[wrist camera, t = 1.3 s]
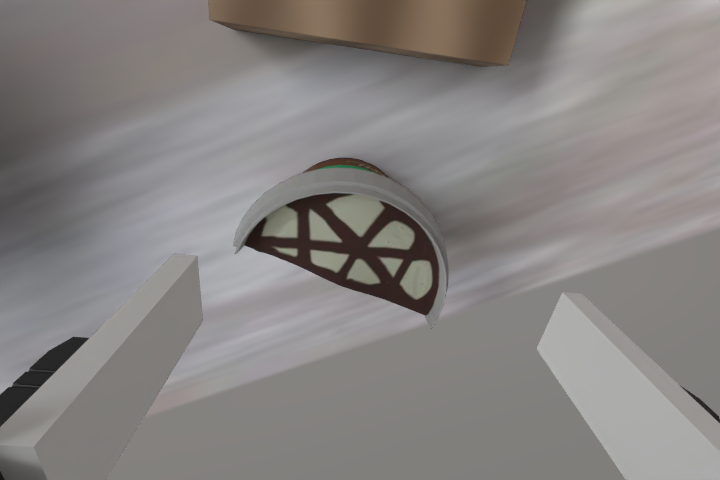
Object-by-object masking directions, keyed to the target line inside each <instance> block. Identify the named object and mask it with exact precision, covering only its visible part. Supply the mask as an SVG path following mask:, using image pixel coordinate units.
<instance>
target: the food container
mask: <svg viewBox="0 0 720 480" xmlns="http://www.w3.org/2000/svg"><path fill="white" fill-rule="evenodd" d="M244 245H245V246H248V247H250V248H253V249H255V250H257V251H259V252H263V253H267V254H270V255H273V256H275V257H278V258H280V259H283V260H285V261H288V262H290V263H293V264H295V265H297V266H299V267H302V268H304V269H306V270H308V271H310V272H312V273H314V274H316V275H318V276H320V277H322V278H325V279H327V280H329V281H331V282H333V283H336V284H338V285H340V286H342V287H346V288H349V289H352V290H355V291H358V292H362V293H366V294H369V295H372V296H376V297H379V298H382V299H385V300H387V301H390V302H393V303H395V304H398V305H400V306H403V307H405V308H408V309H411V310H413V311H416V312H418V313H421V314H423V315H425V317H426V319H427V322H428V324H429V326H430V328H431V329H432V328H433V326H434V324H435V323H436V321H437V319H438V317H439V315H440V312H441V310H442V307H443V305H444V300H445V296H446V292H447V287H448V262H447V254H446V248H445V242H444V239H443V236H442V233H441V230H440V228H439V225H438V224H437V222H436V220H435V218H434V217H433V215H432V213H431V212H430V211H429V209H428V208H427V207H426V206H425V205H424V204H423V202H422V201H421V200H420V199H419V198H418V197H416V196H415V195H414V194H413V193H412V192H410V191H409V190H408V189H407V188H405V187H404V186H402V185H400V184H398V183H397V182H395V181H393V180H391V179H390V178H388V177H387V176H386V175H385V174H384V173H383V172H382V171H381V170H380V169H378V168H377V167H375V166H373V165H372V164H370V163H367V162H364V161H362V160H358V159H353V158H336V159H330V160H326V161H323V162H320V163H318V164H316V165H314V166H312V167H310V168H309V169H307V170H306V171H304V172H303V173H302V174H298V175H296V176H293V177H291V178H289V179H287V180H285V181H282V182H280V183H279V184H277V185H276V186H274V187H273V188H271V189H270V190H268V191H267V192H265V193H264V194H263V195H262V196H261V197H260V198H259V199H258V200H257V201H256V202H255V203H254V204H253V205H252V206H251V207H250V209H249V210H248V212H247V213H246V214H245V216H244V217H243V218H242V220H241V222H240V225H239V227H238V229H237V231H236V234H235V239H234V244H233V246H235V247H237V249H236V251H235V253H234V254H237V253H238V252H239V251H240V249H241V248H242V247H243V246H244Z"/></svg>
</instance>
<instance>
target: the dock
mask: <svg viewBox="0 0 720 480" xmlns="http://www.w3.org/2000/svg"><path fill="white" fill-rule="evenodd" d="M526 1H527V0H208V4H209V20H211V21H214V22H216V23H219V24H221V25H224V26H226V27H228V28H231V29H234V30H241V31H247V32H254V33H261V34H267V35H274V36H281V37H287V38H294V39H301V40H307V41H314V42H320V43H327V44H334V45H340V46H347V47H354V48H360V49H367V50H374V51H380V52H387V53H394V54H400V55H407V56H413V57H420V58H427V59H433V60H440V61H447V62H453V63H460V64H467V65H473V66H480V67H488V66H503V65H509V61H510V57H511V54H512V50H513V47H514V43H515V40H516V36H517V33H518V29H519V25H520V22H521V18H522V15H523V11H524V8H525V4H526Z"/></svg>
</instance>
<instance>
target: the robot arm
mask: <svg viewBox="0 0 720 480" xmlns="http://www.w3.org/2000/svg"><path fill="white" fill-rule="evenodd" d="M202 321H203V316H202V304H201V292H200V281H199V269H198V257H197V256H192V255H182V254H173V255H172V256H171V257H170V258H169V259H168V260H167V261H166V262H165V263H164V264H163V265H162V266H161V267H160V268H159V269H158V270H157V271H156V272H155V273H154V274H153V275H152V276H151V277H150V278H149V279H148V280H147V281H146V282H145V283H144V284H143V285H142V286H141V287H140V288H139V289H138V290H137V291H136V292H135V293H134V294H133V295H132V296H131V297H130V298H129V299H128V300H127V301H126V302H125V303H124V304H123V305H122V306H121V307H120V308H119V309H118V310H117V311H116V312H115V313H114V314H113V315H112V316H111V317H110V318H109V319H108V320H107V321H106V322H105V323H104V324H103V325H102V326H101V327H100V328H99V329H98V330H97V331H96V332H95V333H94V334H93V335H92V336H91V337H90V338H81V337H73V338H71V339H69V340H67V341H65V342H64V343H62V344H60V345H58V346H57V347H55V348H53V349H51V350H50V351H48V352H47V353H46V354H45V355H44V356H43V357H42V358H40V359H39V360H38V361H37V362H36V363H35V364H34V365H33V366H32V367H30V370H29V371H28V372H25V373H24V374H23V375H22V376H21V377H19V378H18V379H17V380H16V381H15V382H14V383H13V386H12V387H8V388H7V389H6V390H5V391H4V392H3V393H2V394H1V395H0V480H106V479H107V477H108V476H109V474H110V472H111V471H112V469H113V467H114V466H115V464H116V462H117V461H118V459H119V457H120V456H121V454H122V453H123V451H124V449H125V448H126V446H127V444H128V443H129V441H130V439H131V438H132V436H133V434H134V433H135V431H136V430H137V428H138V426H139V425H140V423H141V421H142V420H143V418H144V416H145V415H146V413H147V412H148V410H149V408H150V407H151V405H152V403H153V402H154V400H155V398H156V397H157V395H158V393H159V392H160V390H161V389H162V387H163V385H164V384H165V382H166V380H167V379H168V377H169V375H170V374H171V372H172V370H173V369H174V367H175V366H176V364H177V362H178V361H179V359H180V357H181V356H182V354H183V352H184V351H185V349H186V347H187V346H188V344H189V343H190V341H191V339H192V338H193V336H194V334H195V333H196V331H197V329H198V328H199V326H200V324H201V323H202ZM537 350H538V352H539V353H540V355H541V356H542V358H543V359H544V361H545V362H546V363H547V365H548V366H549V368H550V369H551V371H552V372H553V374H554V375H555V377H556V378H557V380H558V381H559V382H560V384H561V385H562V387H563V388H564V390H565V391H566V393H567V394H568V396H569V397H570V399H571V400H572V402H573V403H574V404H575V406H576V407H577V409H578V410H579V411H580V413H581V415H582V416H583V418H584V419H585V421H586V422H587V423H588V425H589V426H590V428H591V429H592V431H593V432H594V434H595V435H596V437H597V438H598V440H599V441H600V443H601V444H602V445H603V447H604V448H605V450H606V451H607V453H608V454H609V456H610V457H611V458H612V460H613V461H614V463H615V464H616V466H617V467H618V469H619V470H620V472H621V473H622V475H623V476H624V478H625V479H626V480H720V419H719V416H718V415H717V414H716V413H714V412H713V411H712V410H711V409H710V408H709V407H708V406H707V405H706V404H705V403H703V401H701V400H700V399H699V398H698V397H696V396H695V395H693V394H692V393H690V392H689V391H687V390H686V389H684V388H683V387H681V386H680V385H679V384H677V383H676V382H675V381H674V380H673V379H672V378H671V377H670V376H669V375H668V374H667V373H666V372H665V371H663V370H662V369H661V368H660V367H659V366H658V365H657V364H656V363H655V362H654V361H653V360H651V358H650V357H648V356H647V355H646V354H645V353H644V352H643V351H642V350H641V349H640V348H639V347H638V346H637V345H636V344H635V343H634V342H633V341H631V340H630V339H629V338H628V337H627V336H626V335H625V334H624V333H623V332H622V331H621V330H620V329H619V328H618V327H617V326H616V325H614V324H613V323H612V322H611V321H610V320H609V319H608V318H607V317H606V316H605V315H604V314H603V313H602V312H600V310H598V309H597V308H596V307H595V306H594V305H593V304H592V303H591V302H590V301H589V300H588V299H587V298H586V297H585V296H584V295H582V294H576V293H566V292H565V293H564V292H562V295H561V297H560V299H559V301H558V303H557V305H556V308H555V310H554V312H553V314H552V316H551V319H550V321H549V323H548V325H547V327H546V330H545V332H544V334H543V336H542V338H541V340H540V343H539V345H538V347H537Z"/></svg>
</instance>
